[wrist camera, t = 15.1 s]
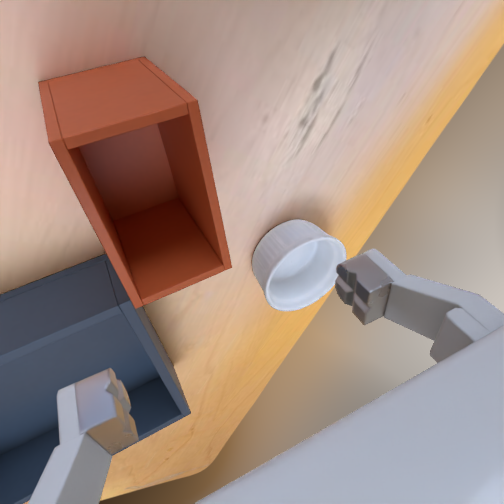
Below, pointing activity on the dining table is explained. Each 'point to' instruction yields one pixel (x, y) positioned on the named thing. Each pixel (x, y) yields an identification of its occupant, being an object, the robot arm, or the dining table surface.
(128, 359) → the outer bin
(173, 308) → the dining table surface
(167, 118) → the tote
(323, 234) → the ramekin
